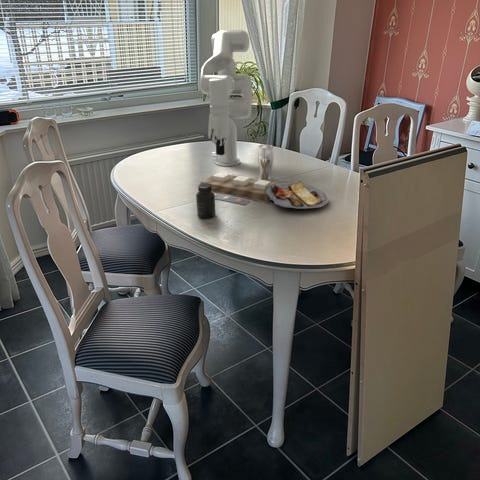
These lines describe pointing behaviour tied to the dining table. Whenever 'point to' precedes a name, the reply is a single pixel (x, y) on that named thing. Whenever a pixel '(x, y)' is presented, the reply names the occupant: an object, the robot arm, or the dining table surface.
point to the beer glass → (266, 161)
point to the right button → (262, 184)
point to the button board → (238, 188)
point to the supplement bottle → (205, 201)
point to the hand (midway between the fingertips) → (220, 154)
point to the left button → (221, 177)
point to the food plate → (296, 195)
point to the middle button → (241, 181)
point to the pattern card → (231, 199)
